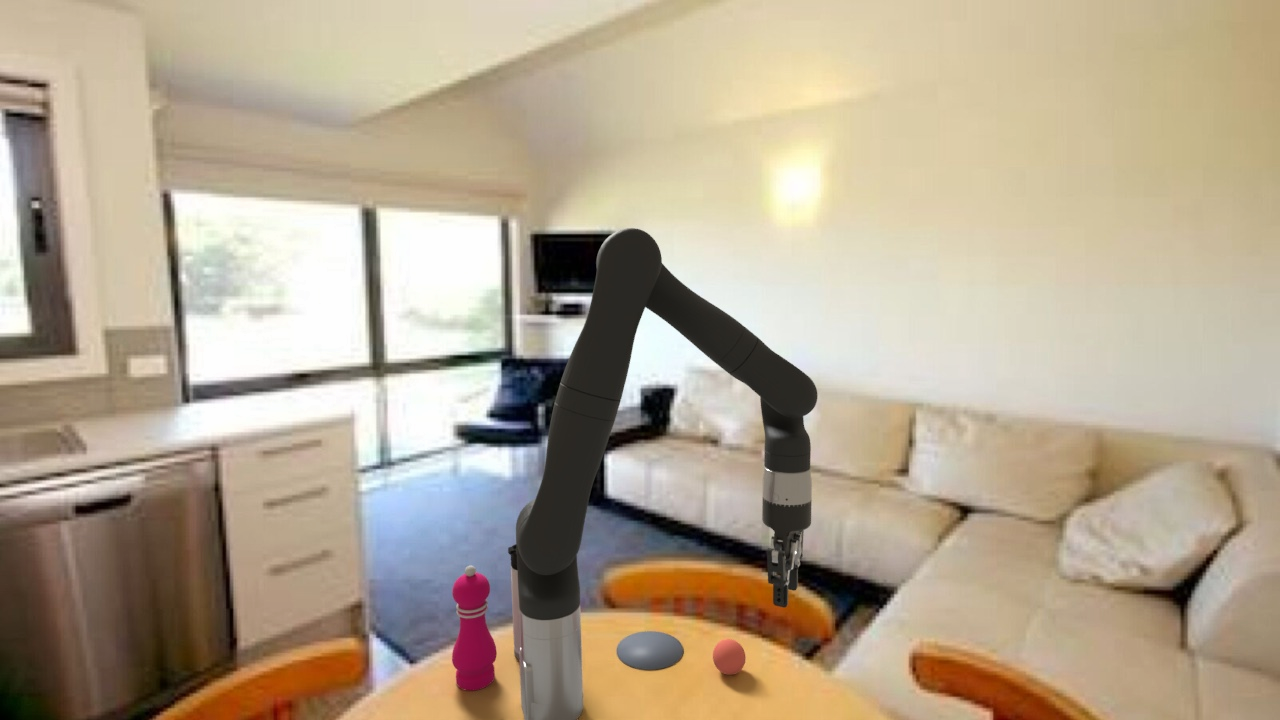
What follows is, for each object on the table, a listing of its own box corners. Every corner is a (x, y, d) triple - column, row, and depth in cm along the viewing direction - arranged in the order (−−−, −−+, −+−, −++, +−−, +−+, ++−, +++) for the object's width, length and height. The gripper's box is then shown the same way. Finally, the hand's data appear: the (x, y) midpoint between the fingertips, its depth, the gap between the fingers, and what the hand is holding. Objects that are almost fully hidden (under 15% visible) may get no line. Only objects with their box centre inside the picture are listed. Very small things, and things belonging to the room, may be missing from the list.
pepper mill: (486, 695, 104) (480, 577, 102) (445, 690, 106) (438, 574, 103) (504, 669, 111) (499, 558, 109) (465, 664, 113) (460, 555, 110)
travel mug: (508, 648, 118) (504, 542, 115) (543, 639, 121) (540, 536, 118) (517, 666, 112) (512, 556, 110) (553, 656, 115) (550, 548, 113)
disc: (627, 675, 109) (627, 674, 109) (608, 638, 120) (608, 637, 120) (693, 662, 113) (693, 661, 113) (669, 627, 124) (669, 626, 124)
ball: (721, 684, 106) (721, 653, 106) (707, 665, 112) (707, 635, 111) (751, 677, 108) (751, 647, 107) (736, 659, 113) (736, 630, 113)
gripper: (799, 513, 93) (798, 623, 96) (820, 484, 106) (818, 582, 108) (749, 506, 97) (749, 612, 99) (775, 479, 110) (774, 574, 112)
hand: (785, 596), depth 104 cm, fingers open, 5 cm apart
